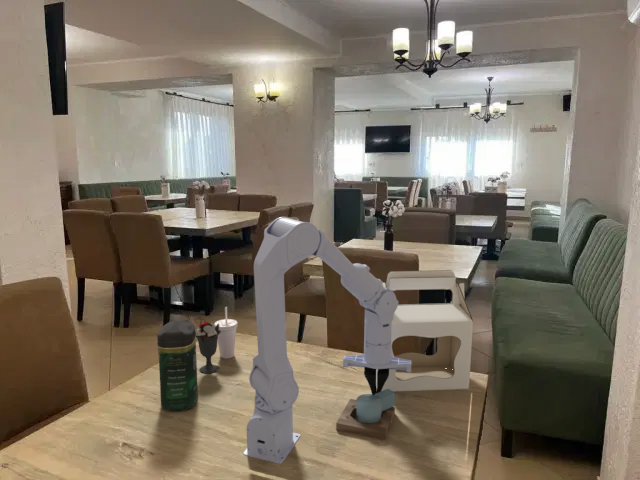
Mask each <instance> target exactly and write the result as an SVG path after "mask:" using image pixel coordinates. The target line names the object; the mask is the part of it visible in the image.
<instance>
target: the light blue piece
mask: <svg viewBox="0 0 640 480" xmlns="http://www.w3.org/2000/svg"><path fill="white" fill-rule="evenodd" d="M356 400H357V412H356V422H360V423H365V424H372V423H375V422H379V421H380V420H381V418H382V411H384V410H387V409H389V408H391V407H395V406H396V391H391V390H389V389H386V390H384V391H381V392H379V393H376V394H375V395H373V394H372V393H363V394H361V395H358V397H357V398H356Z"/></svg>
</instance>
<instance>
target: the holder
mask: <svg viewBox="0 0 640 480" xmlns="http://www.w3.org/2000/svg"><path fill="white" fill-rule="evenodd" d="M356 412H357V399H353V398H350V399H348V401H347V403H346V405H345V407H344V409H343V410H342V413H341V414H340V416H339V418H338V419H337V421H336V423H335V426H336V427H335V430H336V431H339V432H344V433H350V434H354V435H359V436H363V437H368V438H371V439H372V438H373V439H379V440H383V441H386V438H387V436H388V433H389V430H390V428H391V425H392V423H393V420H394V416H395V415H396V407H395V406H393V407H391V408H389V409H387V410H384V411H382V418H381V420H380V421H379V422H375V423H372V424H365V423H360V422H356Z"/></svg>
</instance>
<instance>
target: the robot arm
mask: <svg viewBox="0 0 640 480" xmlns="http://www.w3.org/2000/svg"><path fill="white" fill-rule="evenodd" d="M311 256H313V257H318V258H319V259H320V260H322V261H323V262H324V263H325V264H326V265H327V266H328V267H329V268H331V269H332V270H333V271H335V272H336V273H337V274H338V275H340V283H341V285H342V286H343V287H344V288H345V289H346V290H347V291H348V292H349V293H350V294H351V295H352V296H353V297H355V298H356V299H357V300H358V303H359V305H360V306H361V307H363V308H364V330H363V331H364V333H363V335H364V337H363V338H364V339H363V340H364V341H363V354H353V355H351V354H350V355H348V354H347V355H344V356H343V359H342V361H343V363H342V364H343V365H342V366H343V368H349V367H355V368H357V367H358V368H363V369H364V370H363V371H364V372H363V376H364V377H365V380H366V382H367V384H368V386H369V388H370V391H371V394H373V395H375V394H376V393H379V392H381V391H382V388H383V386H384V384H385V382H386V380H387V379H388V376H389V369H393V370H406V372H411V360H406V359H401V358H396V357H392V356H391V325H392V320H393V316H394V312H395V311H396V309H397V307H398V305H399V300H398V299H397V296H396V293H395V291H393V290H390V289H387V288H385V287H383V285H382V284H383V283H384V282H383V281H382V280H381V279H380V278H376V277H375V276H374V275H373V274H372V273H371V272H370V270H371V268H370V266H369V265H367V264H363V263H362V264H361V263H360V262H359V263H358V262H356V263H352V262H351V261H350V260H349V259H348V257H347V256H346V255H344V253H343V252H342V251H341V250H340V248H338V247H337V246H336V245H335V244H334V243H333V242H332V241H331V239H330V238H329V237H328V236H327V235H326V234H325V232H323V231H322V230H320V229H318V228H317V226H315V225H314V224H313V223H312V222H309V221H308V222H307V221H301V220H297V219H294V218H291V217H288V216H280V217H277V218H275V219H274V220H273V221H272V222H271V223H270V224H269V225H268V226H267V227H265V229H264V232H263V240H262V242H261V245H260V247H259V249H258V251H257V254H256V256H255V259H254V262H253V277H254V278H253V280H254V281H253V282H254V300H255V317H256V319H255V320H256V335H257V354H256V355H255V356H254V357H253V358H252V368H251V370H250V373H249V377H248V380H249V384H250V386H251V387H252V389H253V390H255V391H254V392H255V395H254V409H253V413H252V416H251V418H250V419H249V421H248V422H247V424H246V449H245V450H244V451H243V453H242V454H243V456H246V457H251V458H255V459H258V460H263V461H267V462H271V463H275V464H283V462H284V461H285V460H286V459H287V457H288V455H289V453H290V452H291V451H292V450H293V448H294V446H295V445H296V443H297V442H298V441H299V439H300V438H301V434H300V433H297V432H294V426H293V425H294V423H293V422H294V416H293V415H294V413H293V412H294V411H293V410H294V407H293V405H294V404H295V403H296V401H297V399H298V397H299V391H300V390H299V385H298V382H296V379H295V377H294V369H293V366H292V364H291V361H290V360H289V357H288V347H287V325H286V322H287V321H286V320H287V318H286V300H285V297H286V296H285V294H286V293H285V273H286V272H287V271H289V270H290V269H291V268H292V267H294V266H296V265H297V264H299V263H301V262H302V261H304V260H306V259H308V258H309V257H311ZM376 369H378V371H377V385H376Z"/></svg>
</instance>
